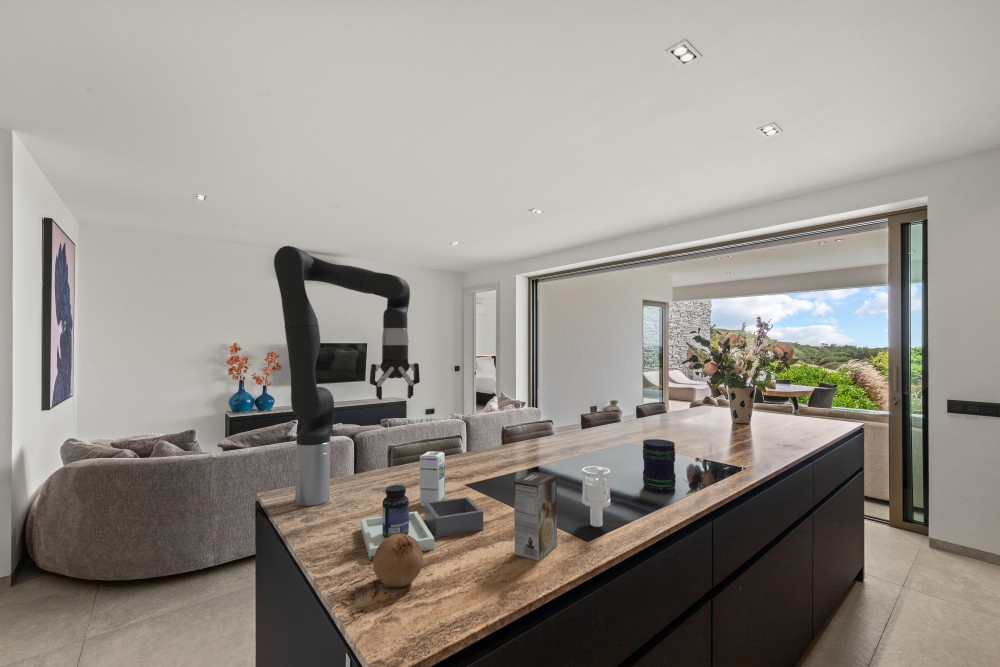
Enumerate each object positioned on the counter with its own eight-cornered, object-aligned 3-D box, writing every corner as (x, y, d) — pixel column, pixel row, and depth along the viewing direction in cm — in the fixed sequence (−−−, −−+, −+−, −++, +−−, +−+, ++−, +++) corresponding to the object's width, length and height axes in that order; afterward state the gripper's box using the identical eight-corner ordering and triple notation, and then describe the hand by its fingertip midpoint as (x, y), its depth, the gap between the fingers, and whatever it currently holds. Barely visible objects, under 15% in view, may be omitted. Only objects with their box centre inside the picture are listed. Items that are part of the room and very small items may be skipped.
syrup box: (439, 508, 128) (439, 456, 128) (419, 506, 129) (419, 455, 129) (445, 501, 133) (445, 451, 134) (426, 499, 134) (426, 450, 135)
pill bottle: (413, 531, 109) (414, 485, 109) (398, 541, 103) (398, 493, 103) (393, 527, 111) (393, 482, 112) (376, 537, 106) (377, 489, 106)
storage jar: (638, 490, 143) (638, 443, 143) (648, 482, 151) (647, 438, 152) (671, 496, 137) (670, 447, 138) (679, 488, 145) (678, 441, 146)
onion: (411, 605, 85) (423, 566, 82) (362, 593, 84) (372, 553, 81) (421, 564, 94) (432, 527, 91) (376, 553, 93) (386, 515, 90)
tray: (369, 561, 96) (370, 549, 96) (361, 529, 113) (361, 519, 113) (434, 549, 101) (434, 538, 102) (416, 520, 118) (416, 511, 118)
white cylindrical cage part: (588, 530, 112) (587, 469, 112) (578, 519, 119) (578, 462, 119) (615, 529, 113) (614, 468, 113) (604, 518, 120) (603, 461, 120)
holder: (436, 537, 108) (436, 518, 108) (424, 519, 119) (424, 502, 119) (483, 529, 112) (483, 511, 113) (467, 513, 124) (467, 496, 124)
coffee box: (533, 539, 107) (532, 471, 107) (557, 545, 104) (557, 475, 104) (513, 554, 99) (513, 480, 100) (539, 562, 96) (539, 485, 96)
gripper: (416, 344, 140) (416, 396, 140) (368, 343, 135) (368, 398, 134) (421, 343, 133) (421, 399, 133) (372, 343, 128) (371, 401, 127)
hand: (394, 398), depth 133 cm, fingers open, 8 cm apart
